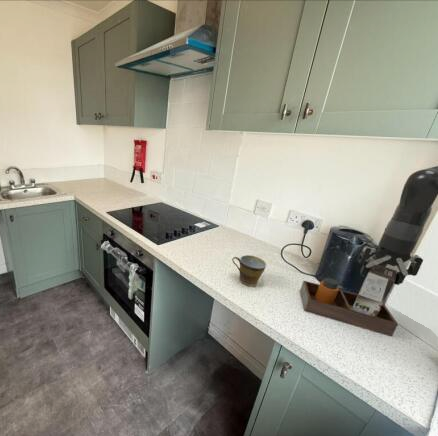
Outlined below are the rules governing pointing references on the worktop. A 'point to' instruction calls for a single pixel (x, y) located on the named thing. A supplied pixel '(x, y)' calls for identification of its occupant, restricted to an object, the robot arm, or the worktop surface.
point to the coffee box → (374, 290)
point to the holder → (347, 310)
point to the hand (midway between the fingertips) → (379, 279)
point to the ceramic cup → (250, 269)
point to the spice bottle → (327, 291)
